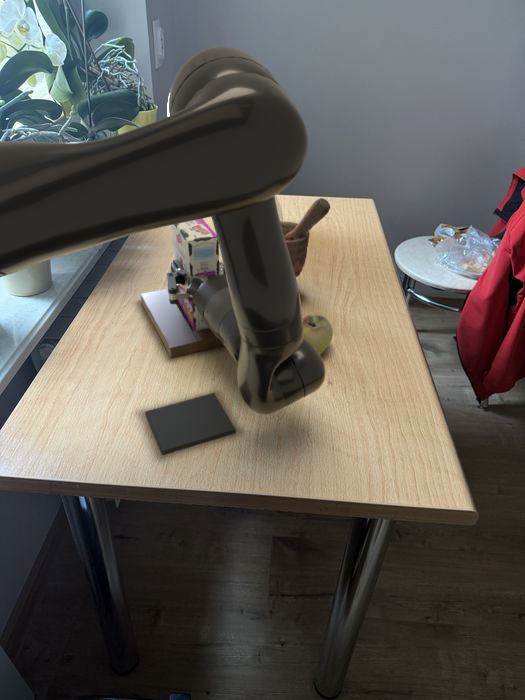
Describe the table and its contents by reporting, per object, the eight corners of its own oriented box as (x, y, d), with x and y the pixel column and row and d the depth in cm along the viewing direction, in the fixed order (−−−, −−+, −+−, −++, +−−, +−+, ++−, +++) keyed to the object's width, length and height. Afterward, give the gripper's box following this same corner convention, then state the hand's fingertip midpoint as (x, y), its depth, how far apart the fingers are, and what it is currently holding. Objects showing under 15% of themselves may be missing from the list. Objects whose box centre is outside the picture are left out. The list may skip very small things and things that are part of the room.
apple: (328, 334, 90) (332, 304, 86) (333, 362, 83) (337, 331, 80) (293, 333, 90) (295, 303, 86) (295, 361, 83) (297, 330, 80)
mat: (162, 454, 67) (161, 451, 66) (145, 414, 72) (145, 411, 72) (235, 432, 70) (235, 429, 70) (214, 395, 76) (214, 392, 76)
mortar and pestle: (320, 288, 103) (331, 186, 91) (319, 311, 96) (331, 204, 84) (261, 283, 103) (264, 181, 92) (255, 306, 96) (258, 199, 85)
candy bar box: (223, 328, 89) (220, 236, 79) (194, 334, 87) (187, 241, 77) (203, 297, 97) (198, 210, 87) (176, 302, 95) (168, 214, 86)
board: (171, 358, 83) (170, 347, 82) (141, 303, 96) (140, 293, 95) (263, 336, 89) (263, 326, 88) (223, 287, 102) (223, 278, 101)
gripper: (275, 279, 77) (231, 235, 89) (180, 297, 71) (147, 247, 84) (273, 323, 81) (231, 275, 93) (183, 343, 76) (151, 289, 88)
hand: (191, 262), depth 88 cm, fingers closed on candy bar box, 5 cm apart
